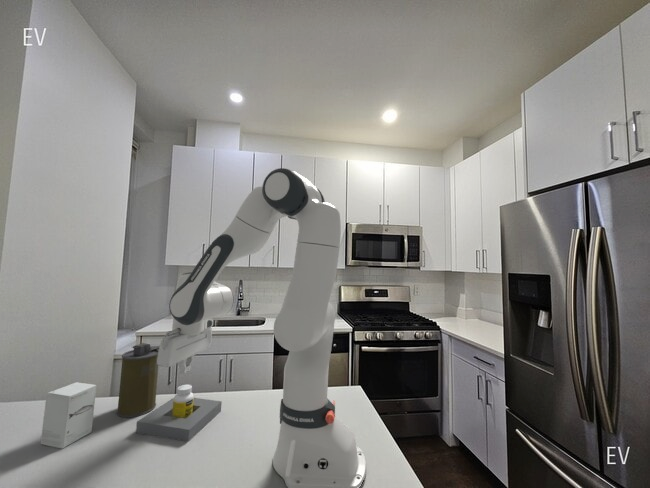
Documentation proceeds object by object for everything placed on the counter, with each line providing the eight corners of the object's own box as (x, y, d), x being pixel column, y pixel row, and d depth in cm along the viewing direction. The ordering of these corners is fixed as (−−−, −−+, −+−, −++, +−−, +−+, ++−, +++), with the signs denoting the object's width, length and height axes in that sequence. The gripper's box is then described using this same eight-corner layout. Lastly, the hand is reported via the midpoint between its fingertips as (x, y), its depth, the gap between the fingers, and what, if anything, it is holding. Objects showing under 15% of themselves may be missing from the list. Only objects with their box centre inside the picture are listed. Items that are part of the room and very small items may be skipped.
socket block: (220, 411, 90) (221, 398, 90) (188, 441, 74) (189, 426, 74) (176, 404, 92) (177, 392, 93) (135, 433, 77) (137, 418, 77)
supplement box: (62, 449, 69) (68, 396, 70) (39, 444, 71) (45, 392, 72) (92, 432, 76) (97, 384, 77) (71, 428, 78) (76, 381, 79)
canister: (132, 420, 82) (138, 351, 84) (108, 413, 86) (114, 346, 87) (164, 404, 93) (169, 342, 94) (141, 398, 96) (146, 338, 98)
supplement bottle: (186, 427, 80) (188, 391, 81) (167, 426, 80) (170, 390, 81) (195, 416, 86) (197, 383, 86) (177, 415, 86) (180, 382, 87)
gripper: (174, 334, 75) (169, 387, 74) (216, 319, 95) (213, 361, 94) (153, 331, 76) (148, 384, 75) (199, 318, 96) (196, 359, 95)
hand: (185, 371), depth 84 cm, fingers closed
